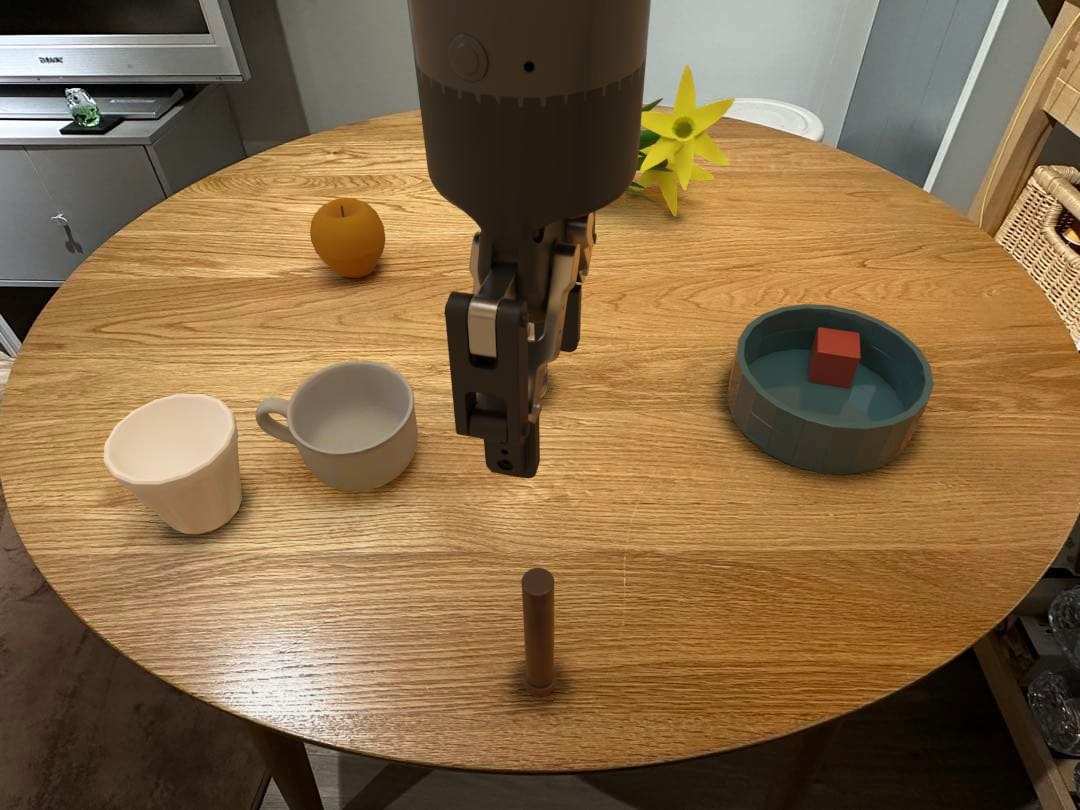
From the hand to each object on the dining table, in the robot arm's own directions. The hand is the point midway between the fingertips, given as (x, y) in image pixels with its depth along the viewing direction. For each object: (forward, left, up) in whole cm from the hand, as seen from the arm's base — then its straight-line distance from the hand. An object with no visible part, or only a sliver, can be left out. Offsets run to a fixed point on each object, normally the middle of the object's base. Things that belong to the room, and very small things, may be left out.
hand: (537, 402), depth 36 cm
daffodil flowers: (+9, -67, -28) cm, 73 cm away
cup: (+32, -9, -28) cm, 44 cm away
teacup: (+22, -17, -28) cm, 40 cm away
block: (-21, -39, -28) cm, 52 cm away
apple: (+34, -46, -28) cm, 64 cm away
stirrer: (0, 0, -28) cm, 28 cm away
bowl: (-20, -34, -28) cm, 48 cm away
